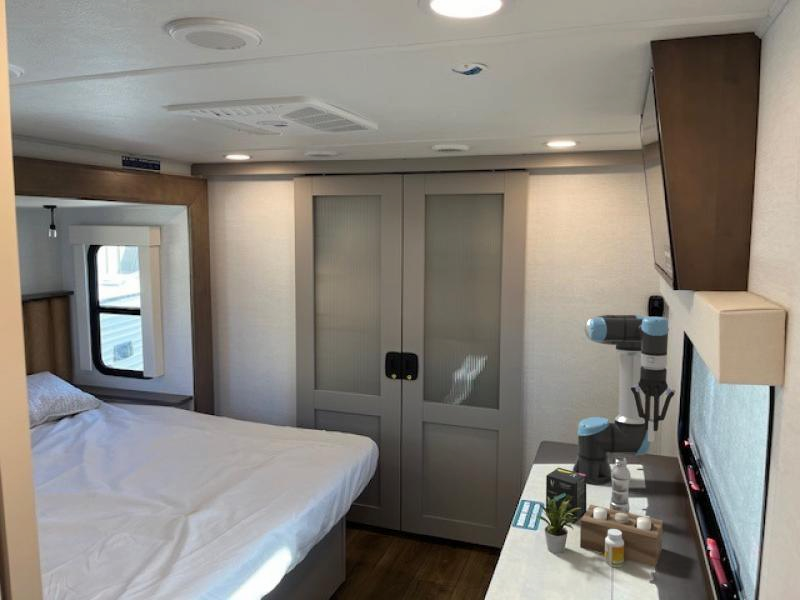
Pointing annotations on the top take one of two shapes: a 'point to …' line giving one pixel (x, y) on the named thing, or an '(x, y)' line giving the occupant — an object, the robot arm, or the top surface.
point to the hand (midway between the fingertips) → (651, 440)
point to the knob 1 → (600, 513)
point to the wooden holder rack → (623, 535)
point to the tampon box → (567, 491)
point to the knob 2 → (644, 523)
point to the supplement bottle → (614, 548)
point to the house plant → (557, 526)
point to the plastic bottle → (620, 486)
